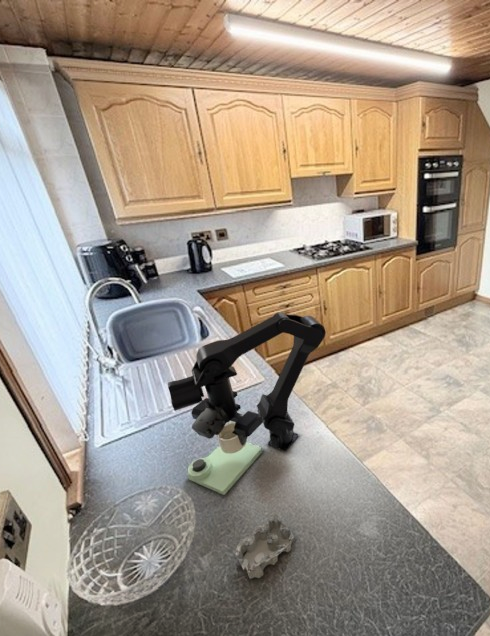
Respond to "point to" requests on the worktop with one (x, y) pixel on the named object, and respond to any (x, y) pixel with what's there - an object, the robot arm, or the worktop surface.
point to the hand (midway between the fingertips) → (233, 440)
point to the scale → (224, 468)
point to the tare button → (198, 465)
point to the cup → (229, 439)
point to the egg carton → (264, 546)
